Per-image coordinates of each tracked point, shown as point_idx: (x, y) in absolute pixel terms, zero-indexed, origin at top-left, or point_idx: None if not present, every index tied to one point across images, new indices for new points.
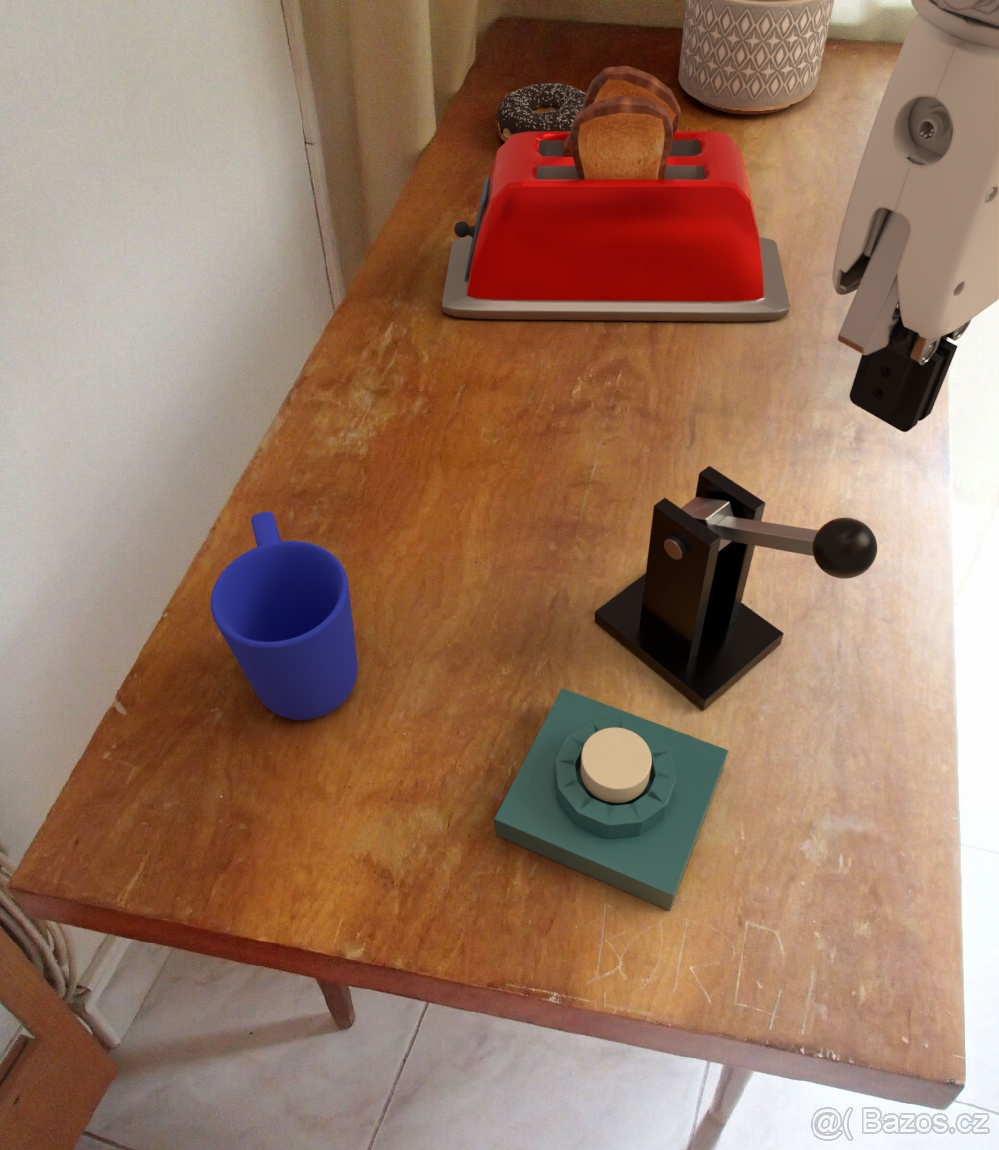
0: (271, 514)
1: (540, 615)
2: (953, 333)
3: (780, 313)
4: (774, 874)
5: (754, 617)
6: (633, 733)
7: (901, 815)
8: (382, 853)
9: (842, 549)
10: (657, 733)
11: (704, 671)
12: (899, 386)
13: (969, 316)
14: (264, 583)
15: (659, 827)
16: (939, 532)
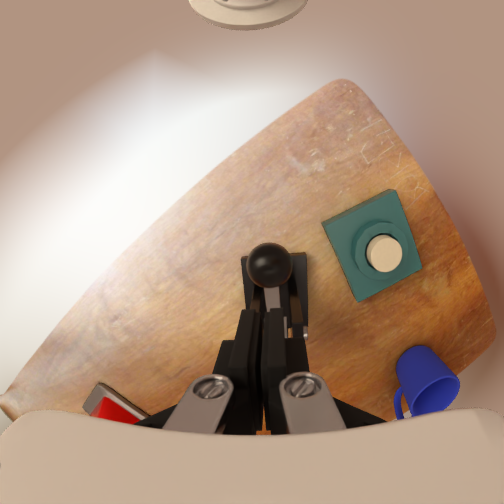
0: None
1: (323, 339)
2: (231, 388)
3: (102, 385)
4: (342, 169)
5: (245, 276)
6: (371, 260)
7: (271, 150)
8: (444, 283)
9: (285, 263)
10: (343, 255)
11: (292, 268)
12: (306, 359)
13: (404, 432)
14: (422, 403)
15: (378, 218)
16: (123, 253)
